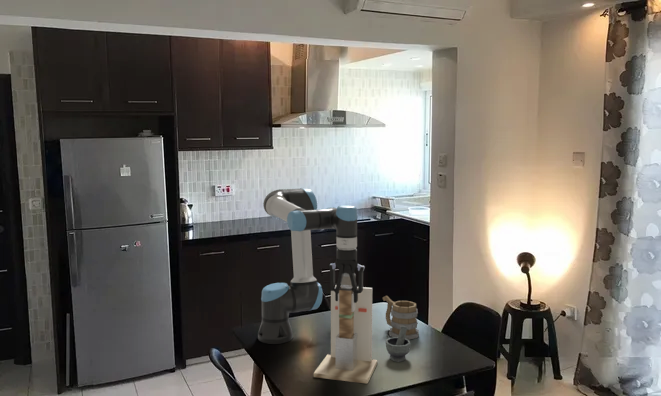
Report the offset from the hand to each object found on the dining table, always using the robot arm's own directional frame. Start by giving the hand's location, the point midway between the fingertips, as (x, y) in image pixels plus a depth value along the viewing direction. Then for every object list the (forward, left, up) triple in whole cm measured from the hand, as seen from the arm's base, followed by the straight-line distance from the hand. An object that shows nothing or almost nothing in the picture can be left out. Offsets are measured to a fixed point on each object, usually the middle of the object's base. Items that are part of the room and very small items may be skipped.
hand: (346, 310), depth 202 cm
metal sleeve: (0, 0, -22) cm, 22 cm away
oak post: (0, 0, -15) cm, 15 cm away
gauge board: (0, +7, -22) cm, 23 cm away
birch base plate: (0, 0, -23) cm, 23 cm away
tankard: (+12, +46, -23) cm, 53 cm away
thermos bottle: (-14, +56, -23) cm, 62 cm away
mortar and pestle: (+17, +17, -23) cm, 34 cm away
